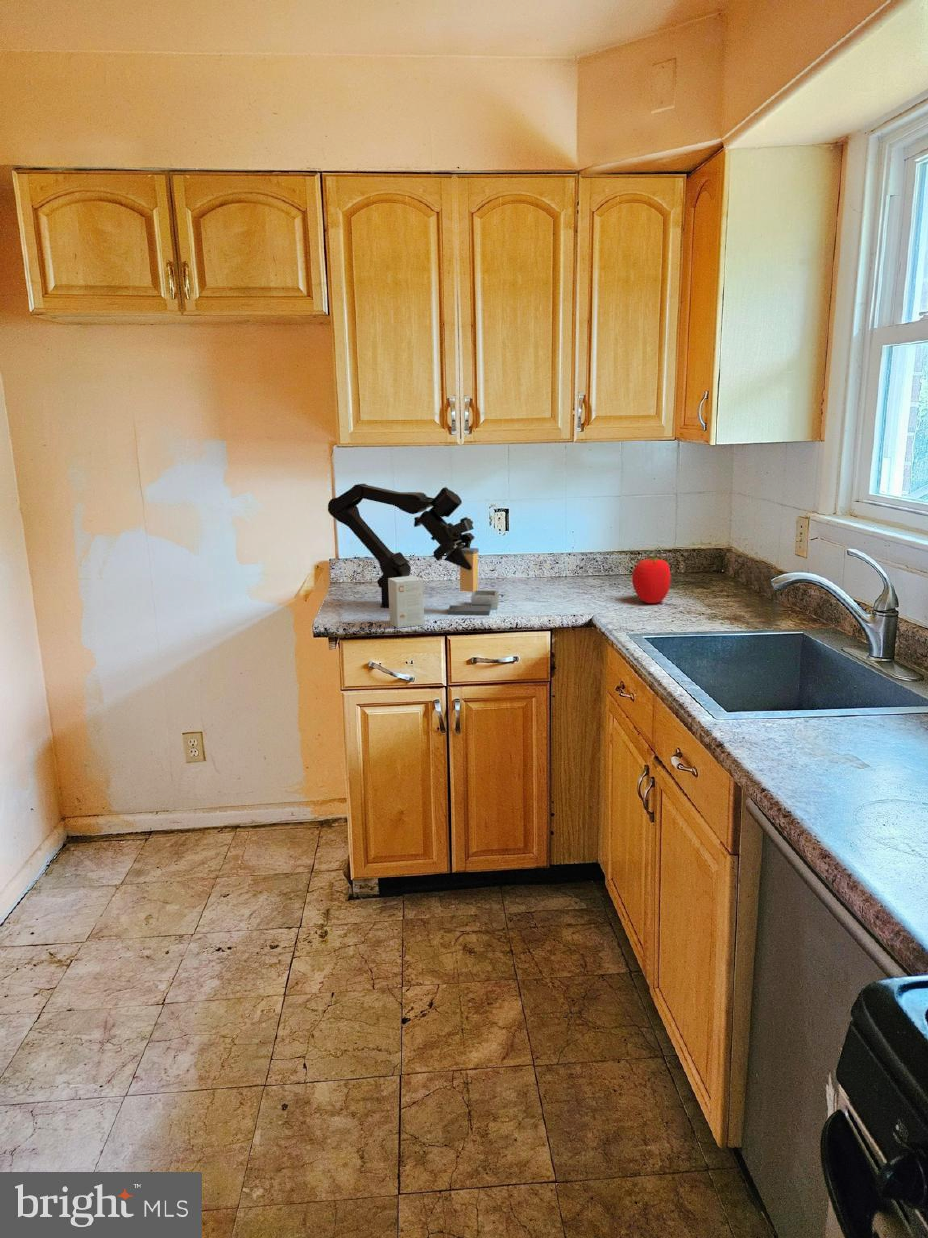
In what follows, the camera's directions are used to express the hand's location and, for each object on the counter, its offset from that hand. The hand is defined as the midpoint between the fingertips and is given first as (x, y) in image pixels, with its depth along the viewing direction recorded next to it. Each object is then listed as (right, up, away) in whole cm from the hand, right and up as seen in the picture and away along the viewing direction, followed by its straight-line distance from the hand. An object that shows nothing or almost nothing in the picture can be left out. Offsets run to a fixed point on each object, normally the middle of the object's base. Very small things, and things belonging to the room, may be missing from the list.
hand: (473, 567), depth 241 cm
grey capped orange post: (-1, -6, +2) cm, 7 cm away
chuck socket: (+4, -11, +11) cm, 16 cm away
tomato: (+54, -10, +15) cm, 57 cm away
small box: (-19, -16, -9) cm, 26 cm away
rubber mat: (-1, -13, +4) cm, 13 cm away
